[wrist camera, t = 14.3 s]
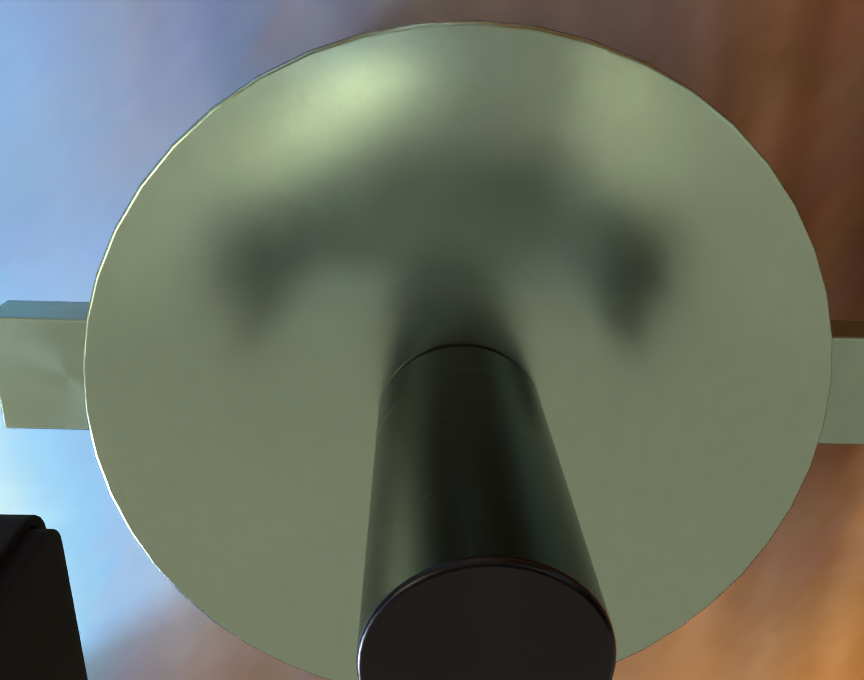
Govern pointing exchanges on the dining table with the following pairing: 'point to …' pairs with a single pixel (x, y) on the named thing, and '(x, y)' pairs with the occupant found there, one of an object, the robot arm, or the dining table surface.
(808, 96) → the dining table surface
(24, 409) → the pot
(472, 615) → the lid
